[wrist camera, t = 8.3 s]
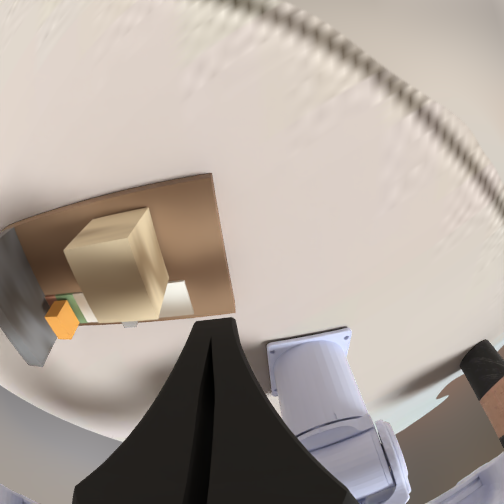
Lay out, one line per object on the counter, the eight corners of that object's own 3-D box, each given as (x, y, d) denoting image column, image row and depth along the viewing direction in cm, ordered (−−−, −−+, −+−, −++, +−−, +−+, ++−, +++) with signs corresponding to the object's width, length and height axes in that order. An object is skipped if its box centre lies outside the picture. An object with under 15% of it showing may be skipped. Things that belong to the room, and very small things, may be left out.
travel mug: (473, 343, 31) (526, 431, 14) (494, 334, 32) (544, 410, 14) (452, 372, 35) (495, 455, 17) (474, 362, 35) (516, 435, 18)
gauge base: (234, 302, 21) (239, 366, 15) (53, 317, 20) (28, 364, 15) (211, 173, 16) (204, 208, 10) (8, 225, 15) (-35, 263, 10)
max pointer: (79, 322, 19) (71, 339, 17) (67, 322, 19) (58, 339, 17) (66, 300, 17) (56, 316, 16) (54, 301, 17) (44, 316, 16)
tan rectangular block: (179, 307, 19) (172, 349, 15) (129, 311, 19) (116, 351, 15) (148, 207, 15) (127, 237, 11) (92, 219, 15) (63, 250, 11)
